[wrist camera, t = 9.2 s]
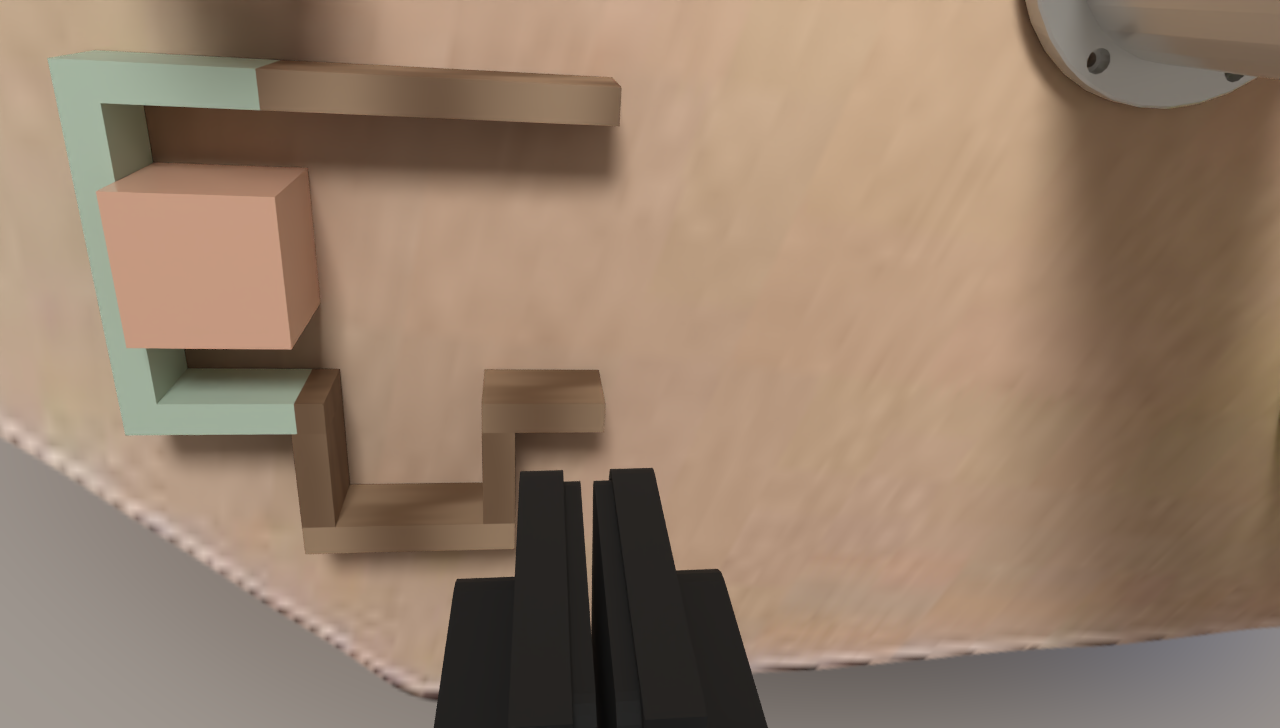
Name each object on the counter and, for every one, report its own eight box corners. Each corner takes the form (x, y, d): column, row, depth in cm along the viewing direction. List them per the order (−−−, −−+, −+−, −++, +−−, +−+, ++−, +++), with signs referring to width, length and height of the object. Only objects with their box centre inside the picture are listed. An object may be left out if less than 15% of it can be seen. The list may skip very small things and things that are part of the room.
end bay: (280, 59, 28) (255, 69, 25) (315, 396, 33) (297, 434, 30) (94, 50, 27) (47, 58, 25) (158, 396, 32) (125, 435, 30)
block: (308, 167, 30) (274, 196, 26) (320, 302, 32) (291, 349, 28) (155, 161, 29) (95, 191, 25) (178, 299, 31) (126, 348, 27)
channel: (612, 77, 30) (621, 87, 27) (592, 505, 37) (597, 546, 34) (274, 59, 28) (248, 68, 25) (321, 509, 35) (305, 554, 33)
